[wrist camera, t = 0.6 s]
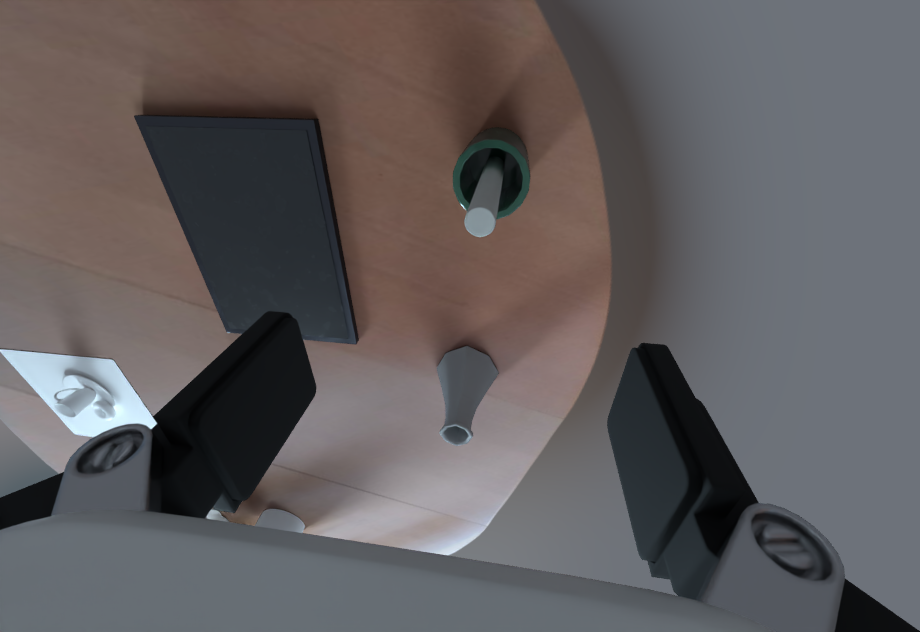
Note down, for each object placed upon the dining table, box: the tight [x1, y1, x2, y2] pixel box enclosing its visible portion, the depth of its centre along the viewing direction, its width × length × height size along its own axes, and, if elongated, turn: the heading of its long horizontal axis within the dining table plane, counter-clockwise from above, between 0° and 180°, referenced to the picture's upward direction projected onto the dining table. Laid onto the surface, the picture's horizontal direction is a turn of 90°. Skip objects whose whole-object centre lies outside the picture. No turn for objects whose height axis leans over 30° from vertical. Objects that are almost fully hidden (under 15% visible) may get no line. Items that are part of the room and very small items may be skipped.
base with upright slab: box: [255, 509, 305, 533], centre depth 69 cm, size 9×9×12 cm
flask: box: [437, 346, 499, 446], centre depth 41 cm, size 7×7×10 cm
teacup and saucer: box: [53, 374, 117, 422], centre depth 57 cm, size 9×8×4 cm
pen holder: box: [453, 127, 530, 219], centre depth 29 cm, size 5×5×7 cm
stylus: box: [465, 157, 505, 237], centre depth 25 cm, size 2×2×15 cm
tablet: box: [134, 115, 359, 344], centre depth 39 cm, size 24×17×1 cm
